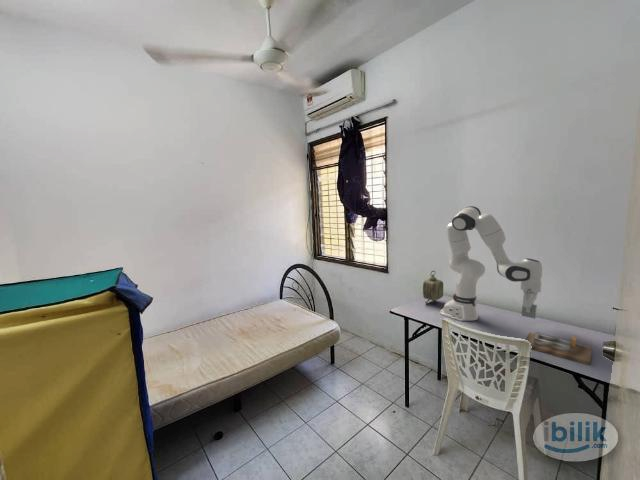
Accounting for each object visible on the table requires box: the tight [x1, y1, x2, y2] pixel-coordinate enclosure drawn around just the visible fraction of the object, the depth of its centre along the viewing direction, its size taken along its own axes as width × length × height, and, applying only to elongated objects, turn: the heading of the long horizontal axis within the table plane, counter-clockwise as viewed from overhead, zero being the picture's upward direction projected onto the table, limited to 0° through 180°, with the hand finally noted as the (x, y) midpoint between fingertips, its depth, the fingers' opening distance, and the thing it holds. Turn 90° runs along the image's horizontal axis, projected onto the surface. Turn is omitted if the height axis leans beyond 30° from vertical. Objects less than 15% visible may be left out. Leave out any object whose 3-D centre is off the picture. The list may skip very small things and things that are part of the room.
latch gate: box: [571, 334, 577, 347], centre depth 130 cm, size 1×6×4 cm, turn 133°
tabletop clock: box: [422, 270, 444, 305], centre depth 198 cm, size 14×9×25 cm, turn 130°
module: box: [521, 303, 538, 320], centre depth 150 cm, size 6×3×7 cm, turn 44°
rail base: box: [525, 332, 593, 366], centre depth 131 cm, size 24×16×4 cm, turn 43°
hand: (528, 310), depth 150 cm, fingers closed on module, 3 cm apart
